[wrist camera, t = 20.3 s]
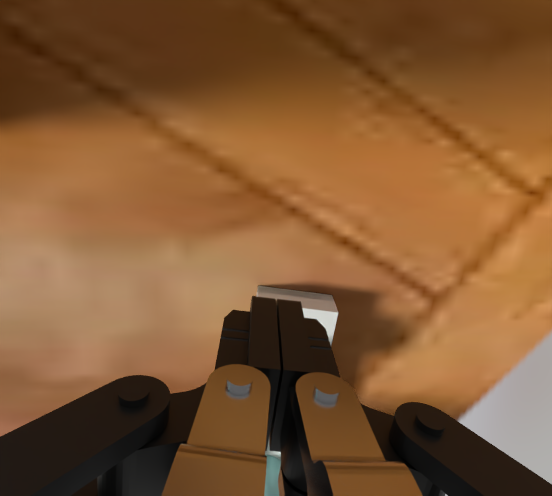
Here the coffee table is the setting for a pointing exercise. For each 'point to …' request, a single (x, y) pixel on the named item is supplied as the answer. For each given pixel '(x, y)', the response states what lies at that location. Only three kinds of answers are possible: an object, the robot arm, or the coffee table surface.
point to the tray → (327, 315)
